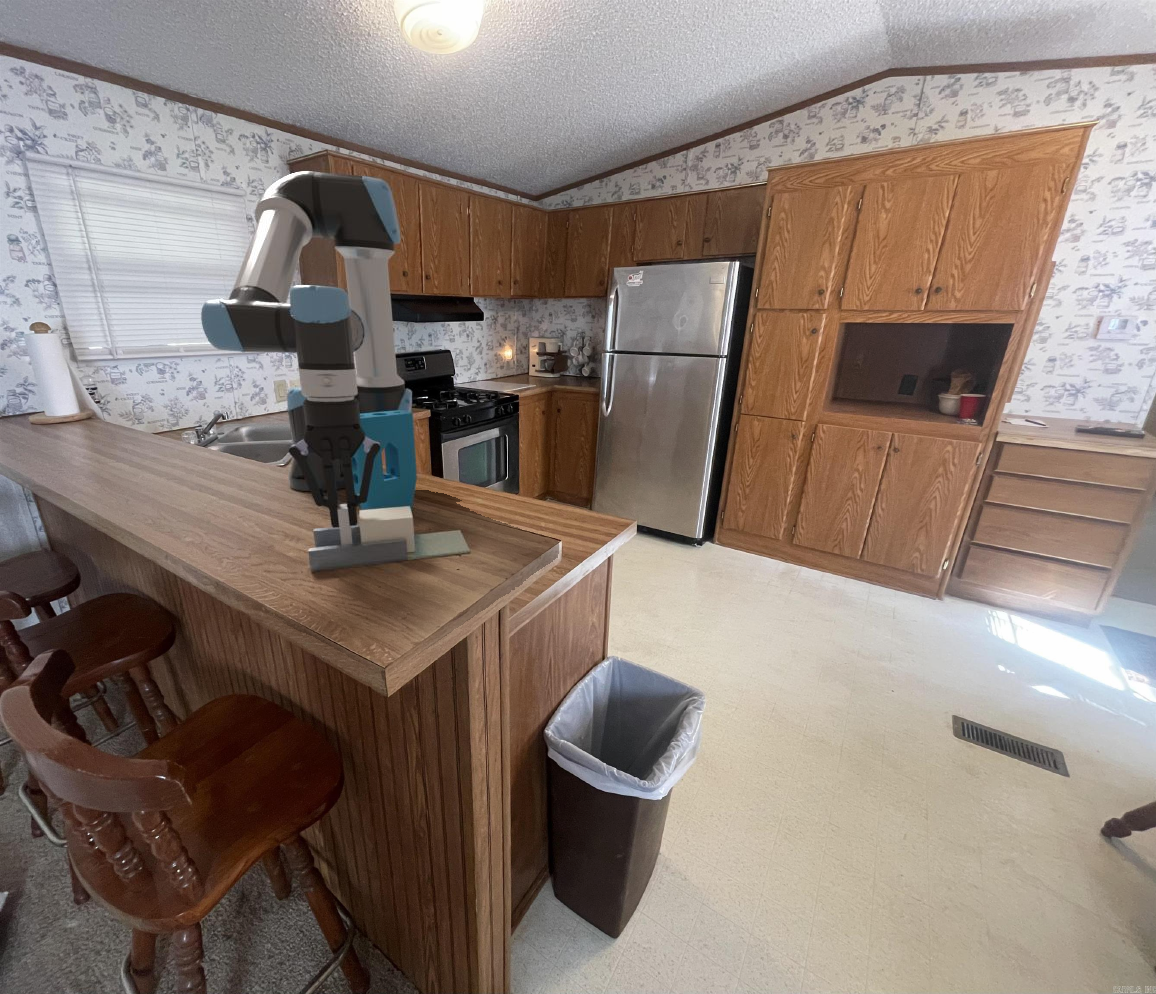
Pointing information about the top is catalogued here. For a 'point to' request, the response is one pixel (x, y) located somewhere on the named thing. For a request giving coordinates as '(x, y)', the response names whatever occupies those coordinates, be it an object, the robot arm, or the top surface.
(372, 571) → the top surface
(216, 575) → the top surface
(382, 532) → the block
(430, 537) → the chute
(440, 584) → the top surface
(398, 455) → the block
